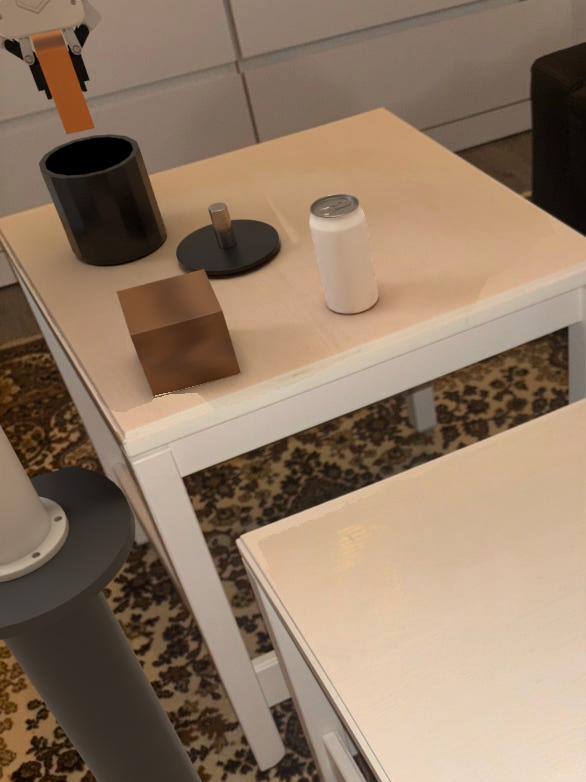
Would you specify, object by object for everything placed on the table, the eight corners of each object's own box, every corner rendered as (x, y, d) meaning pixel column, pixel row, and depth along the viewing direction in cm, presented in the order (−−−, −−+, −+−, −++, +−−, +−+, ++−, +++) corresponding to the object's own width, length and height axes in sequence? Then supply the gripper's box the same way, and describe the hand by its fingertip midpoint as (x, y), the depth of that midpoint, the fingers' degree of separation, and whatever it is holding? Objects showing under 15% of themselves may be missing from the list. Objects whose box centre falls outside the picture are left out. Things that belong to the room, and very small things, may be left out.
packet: (66, 134, 120) (36, 53, 114) (60, 114, 125) (30, 35, 118) (95, 128, 121) (66, 47, 114) (87, 108, 125) (60, 29, 119)
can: (316, 304, 120) (294, 207, 111) (357, 282, 123) (339, 186, 114) (348, 322, 117) (328, 224, 108) (390, 300, 120) (374, 202, 111)
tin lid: (189, 289, 125) (174, 242, 120) (170, 243, 133) (155, 197, 129) (292, 262, 127) (281, 215, 123) (267, 218, 136) (256, 173, 131)
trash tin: (79, 273, 129) (44, 186, 121) (68, 232, 137) (34, 148, 129) (173, 250, 132) (145, 162, 123) (157, 211, 140) (130, 126, 131)
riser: (154, 398, 110) (129, 335, 104) (139, 353, 116) (116, 291, 110) (241, 374, 112) (222, 310, 105) (222, 331, 118) (203, 268, 112)
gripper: (-78, -67, 102) (0, 118, 116) (81, -96, 106) (138, 87, 120) (-79, -84, 107) (-5, 96, 121) (73, -111, 110) (129, 67, 124)
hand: (66, 90), depth 120 cm, fingers closed on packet, 3 cm apart
